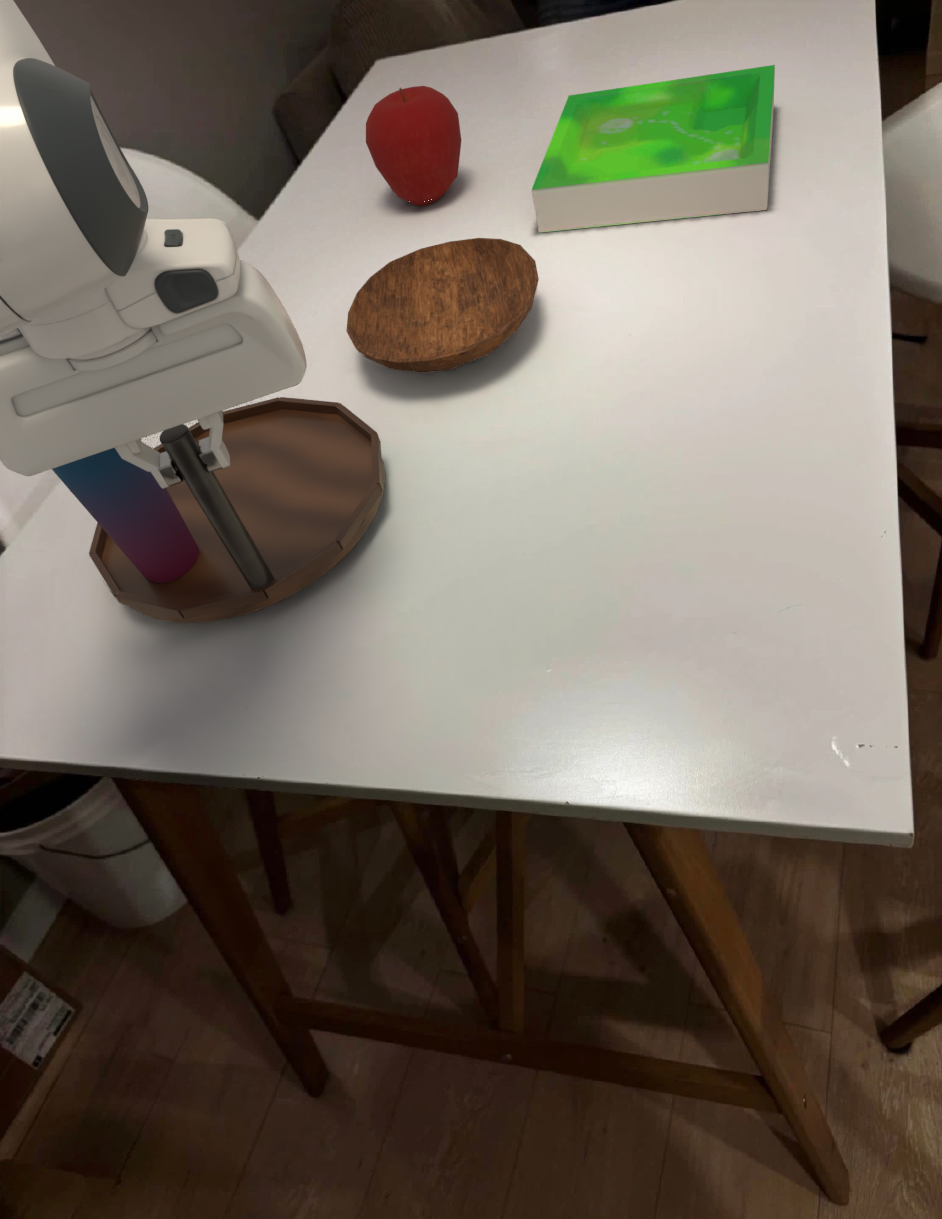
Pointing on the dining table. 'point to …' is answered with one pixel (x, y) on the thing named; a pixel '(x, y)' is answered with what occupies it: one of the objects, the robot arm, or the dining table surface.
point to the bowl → (443, 304)
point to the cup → (133, 513)
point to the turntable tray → (259, 509)
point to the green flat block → (659, 152)
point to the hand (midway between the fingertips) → (197, 472)
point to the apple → (415, 143)
